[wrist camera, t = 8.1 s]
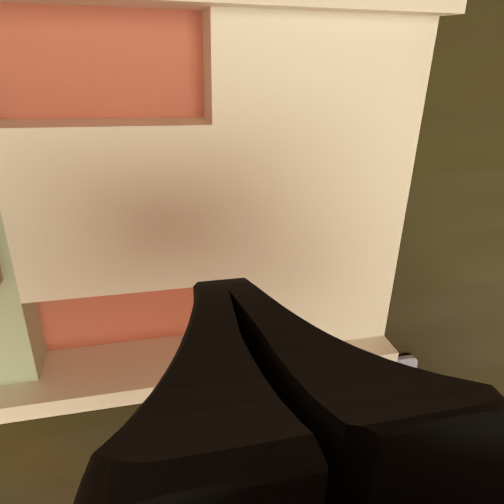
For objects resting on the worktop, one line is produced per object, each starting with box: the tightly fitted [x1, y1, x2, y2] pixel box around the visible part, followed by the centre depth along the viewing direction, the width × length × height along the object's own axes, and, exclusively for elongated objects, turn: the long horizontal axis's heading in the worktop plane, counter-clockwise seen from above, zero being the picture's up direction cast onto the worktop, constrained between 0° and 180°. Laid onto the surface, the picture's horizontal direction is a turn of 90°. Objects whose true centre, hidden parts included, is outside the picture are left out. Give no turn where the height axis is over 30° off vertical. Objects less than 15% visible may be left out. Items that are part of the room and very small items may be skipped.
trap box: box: [0, 0, 467, 424], centre depth 18 cm, size 17×24×4 cm
